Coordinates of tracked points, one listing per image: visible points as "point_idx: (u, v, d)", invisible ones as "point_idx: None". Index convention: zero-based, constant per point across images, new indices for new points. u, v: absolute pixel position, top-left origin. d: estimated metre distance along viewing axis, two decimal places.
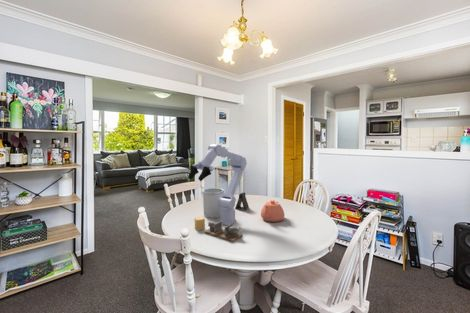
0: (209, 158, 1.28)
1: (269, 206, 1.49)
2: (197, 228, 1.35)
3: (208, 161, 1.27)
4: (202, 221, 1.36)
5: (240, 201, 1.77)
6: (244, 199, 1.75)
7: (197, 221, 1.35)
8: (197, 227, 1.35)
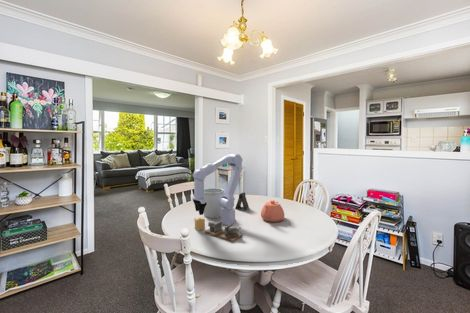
0: (198, 190, 1.33)
1: (269, 206, 1.49)
2: (197, 228, 1.35)
3: (198, 193, 1.33)
4: (202, 221, 1.36)
5: (240, 201, 1.77)
6: (244, 199, 1.75)
7: (197, 221, 1.35)
8: (197, 227, 1.35)
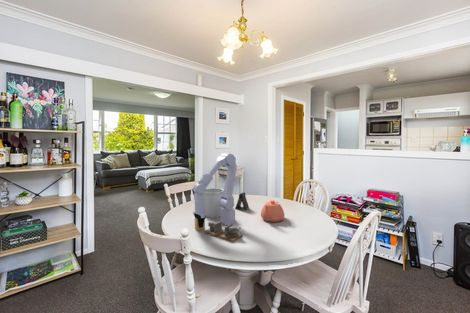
0: (198, 204, 1.34)
1: (269, 206, 1.49)
2: (197, 228, 1.35)
3: (198, 207, 1.34)
4: None
5: (240, 201, 1.77)
6: (244, 199, 1.75)
7: (197, 221, 1.35)
8: (197, 227, 1.35)
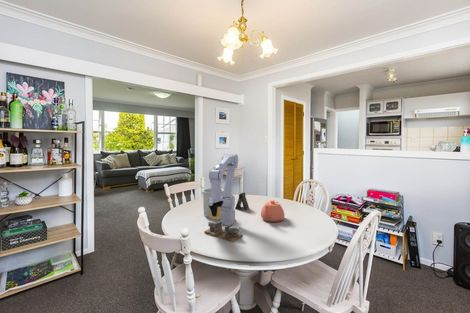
0: (218, 191, 1.27)
1: (269, 206, 1.49)
2: (210, 216, 1.29)
3: (212, 194, 1.27)
4: None
5: (240, 201, 1.77)
6: (244, 199, 1.75)
7: (210, 209, 1.29)
8: (210, 215, 1.29)
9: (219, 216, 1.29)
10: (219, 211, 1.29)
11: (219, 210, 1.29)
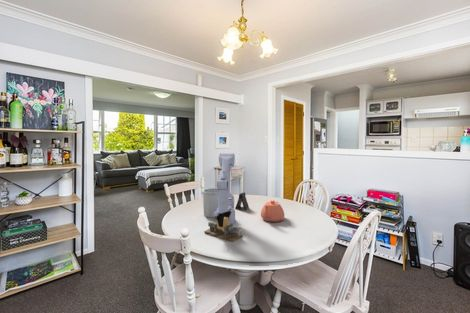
0: (227, 201, 1.25)
1: (269, 206, 1.49)
2: (217, 226, 1.28)
3: (218, 204, 1.26)
4: None
5: (240, 201, 1.77)
6: (244, 199, 1.75)
7: None
8: (217, 225, 1.28)
9: None
10: (226, 222, 1.27)
11: (226, 221, 1.27)
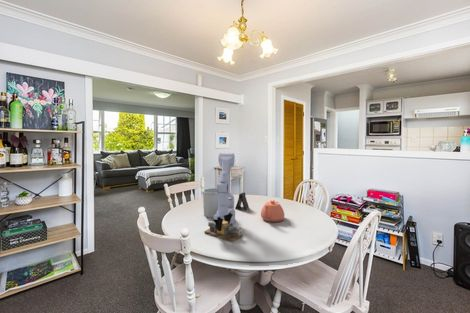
0: (227, 204, 1.26)
1: (269, 206, 1.49)
2: (217, 231, 1.28)
3: (218, 207, 1.26)
4: (222, 225, 1.26)
5: (240, 201, 1.77)
6: (244, 199, 1.75)
7: None
8: (217, 230, 1.28)
9: None
10: None
11: (226, 225, 1.27)
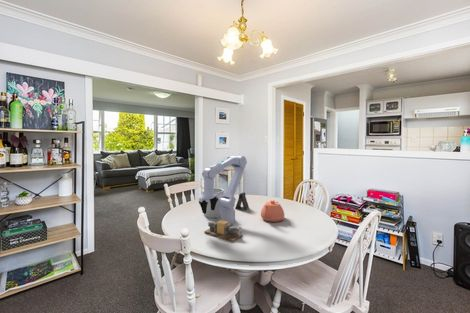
0: (209, 189, 1.33)
1: (269, 206, 1.49)
2: (217, 231, 1.28)
3: (204, 191, 1.34)
4: (222, 225, 1.26)
5: (240, 201, 1.77)
6: (244, 199, 1.75)
7: (217, 223, 1.28)
8: (217, 230, 1.28)
9: None
10: None
11: (226, 225, 1.27)
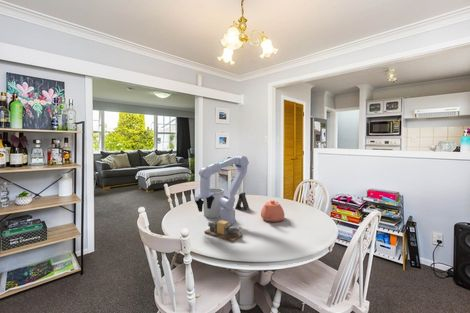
0: (203, 187, 1.35)
1: (269, 206, 1.49)
2: (217, 231, 1.28)
3: (200, 190, 1.37)
4: (222, 225, 1.26)
5: (240, 201, 1.77)
6: (244, 199, 1.75)
7: (217, 223, 1.28)
8: (217, 230, 1.28)
9: None
10: None
11: (226, 225, 1.27)
